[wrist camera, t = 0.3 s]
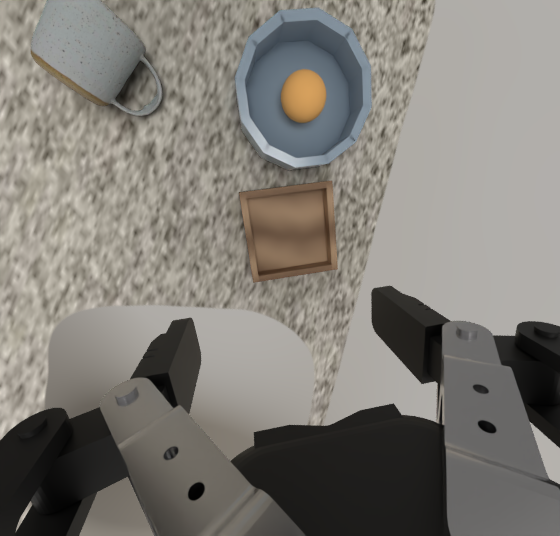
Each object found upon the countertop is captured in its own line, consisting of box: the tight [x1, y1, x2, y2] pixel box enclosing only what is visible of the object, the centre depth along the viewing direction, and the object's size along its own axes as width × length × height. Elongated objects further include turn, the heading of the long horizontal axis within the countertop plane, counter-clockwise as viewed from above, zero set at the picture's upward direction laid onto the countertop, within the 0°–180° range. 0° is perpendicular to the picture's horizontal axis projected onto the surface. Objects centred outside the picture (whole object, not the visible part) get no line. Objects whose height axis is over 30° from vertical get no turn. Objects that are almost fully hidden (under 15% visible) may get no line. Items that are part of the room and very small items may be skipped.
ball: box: [281, 69, 326, 123], centre depth 31 cm, size 5×5×5 cm
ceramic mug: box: [31, 0, 162, 116], centre depth 27 cm, size 11×8×8 cm
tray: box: [239, 181, 338, 283], centre depth 37 cm, size 12×12×3 cm
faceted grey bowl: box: [235, 8, 372, 170], centre depth 32 cm, size 15×15×5 cm
